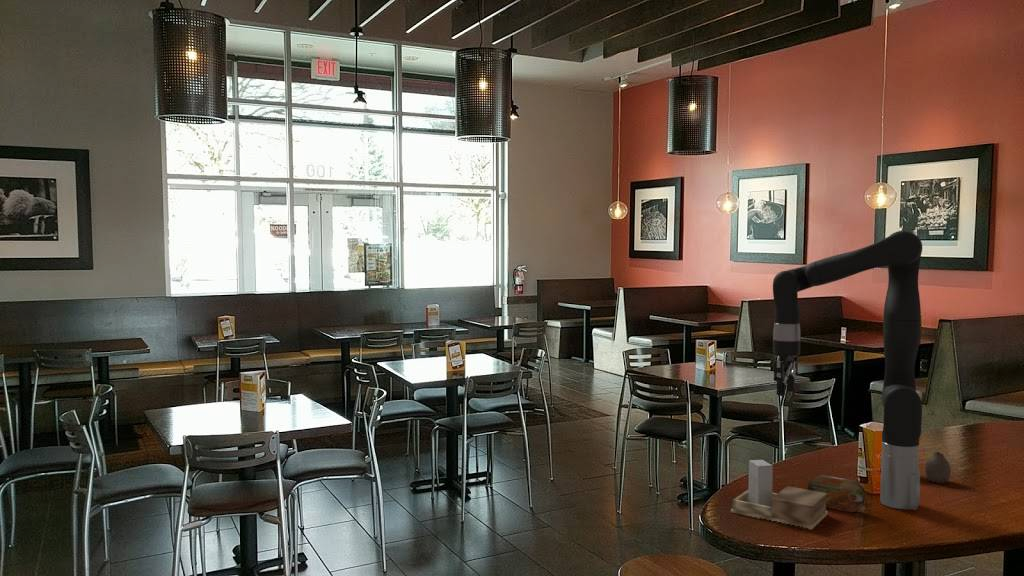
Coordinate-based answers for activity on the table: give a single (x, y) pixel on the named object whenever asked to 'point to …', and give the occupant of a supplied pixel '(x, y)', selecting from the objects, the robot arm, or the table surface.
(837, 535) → the table surface
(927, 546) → the table surface
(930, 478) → the vase
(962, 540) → the table surface
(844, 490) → the tin
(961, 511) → the table surface
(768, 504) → the skincare box
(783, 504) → the organizer tray
